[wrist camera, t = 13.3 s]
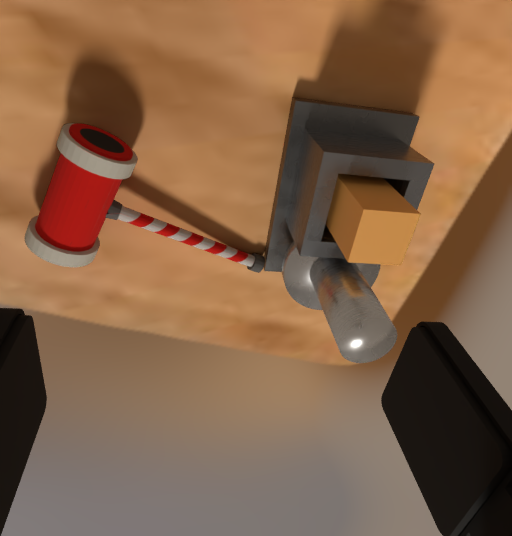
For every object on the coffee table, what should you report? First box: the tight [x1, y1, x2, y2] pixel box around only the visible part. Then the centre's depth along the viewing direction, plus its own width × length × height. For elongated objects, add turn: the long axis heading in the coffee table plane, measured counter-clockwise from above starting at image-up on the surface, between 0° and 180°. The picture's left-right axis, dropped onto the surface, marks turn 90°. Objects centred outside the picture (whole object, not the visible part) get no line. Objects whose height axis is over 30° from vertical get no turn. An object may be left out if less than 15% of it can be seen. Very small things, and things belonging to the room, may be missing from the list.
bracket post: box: [264, 97, 434, 363], centre depth 38 cm, size 20×12×16 cm, turn 172°
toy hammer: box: [25, 123, 265, 273], centre depth 41 cm, size 23×12×6 cm, turn 60°
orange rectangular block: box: [326, 173, 421, 265], centre depth 37 cm, size 4×4×12 cm
